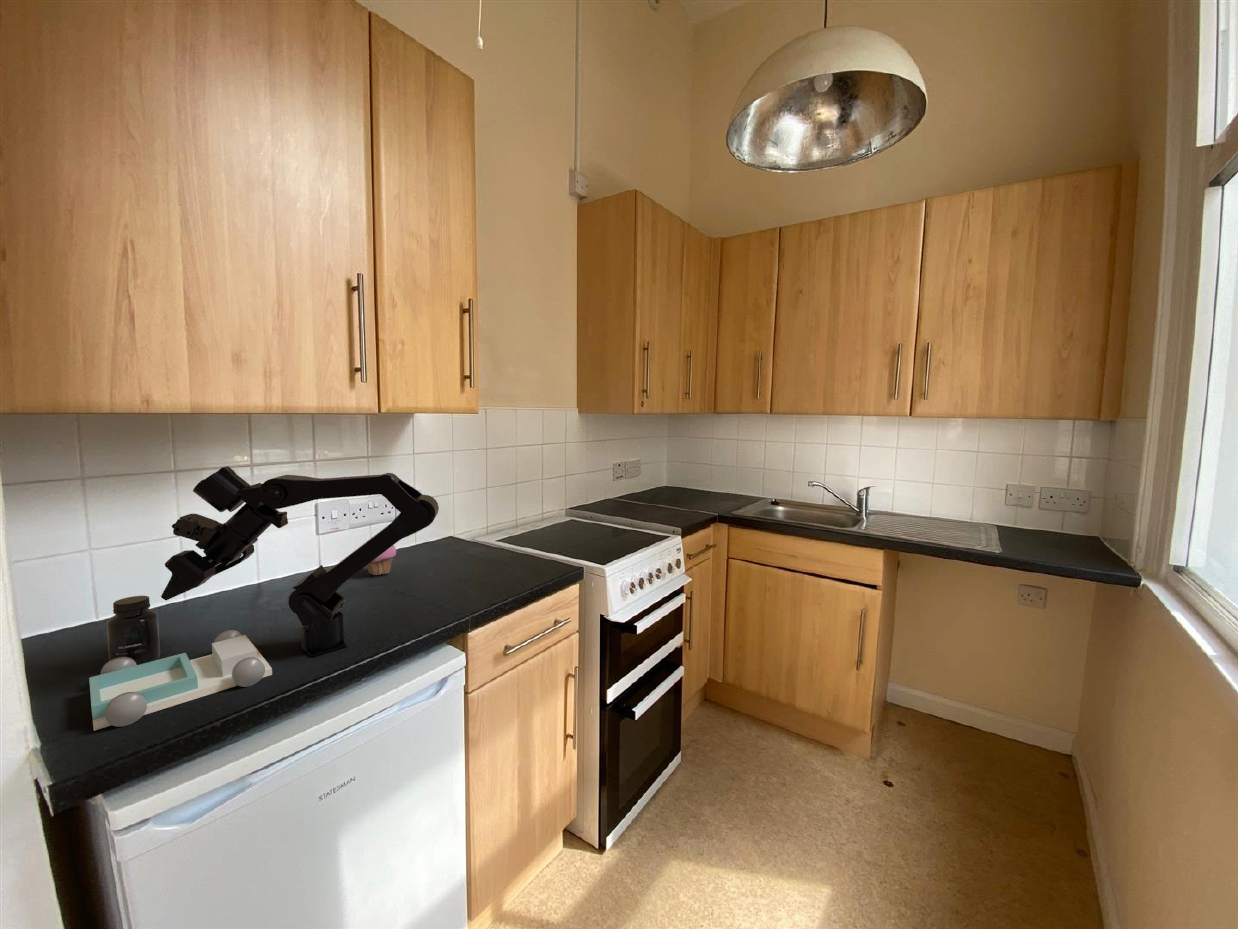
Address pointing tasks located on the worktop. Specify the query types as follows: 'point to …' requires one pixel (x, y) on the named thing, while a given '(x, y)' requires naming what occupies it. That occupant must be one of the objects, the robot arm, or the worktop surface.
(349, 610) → the worktop surface
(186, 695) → the chassis
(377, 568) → the cupcake
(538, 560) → the worktop surface
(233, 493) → the robot arm
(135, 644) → the supplement bottle
